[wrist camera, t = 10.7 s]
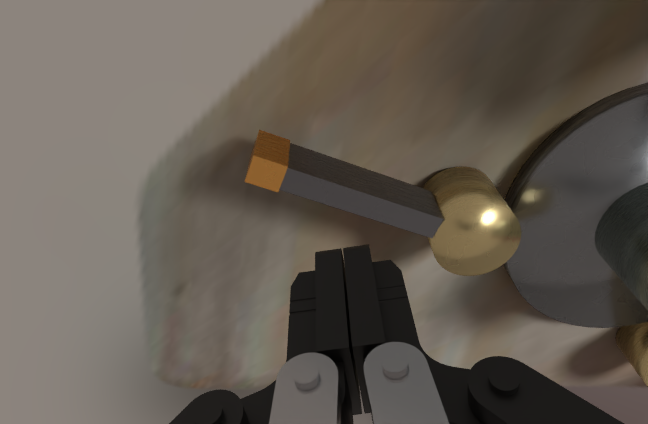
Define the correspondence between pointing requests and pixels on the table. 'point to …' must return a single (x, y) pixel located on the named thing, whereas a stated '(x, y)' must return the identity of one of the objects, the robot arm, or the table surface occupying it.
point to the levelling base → (589, 223)
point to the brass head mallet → (399, 202)
